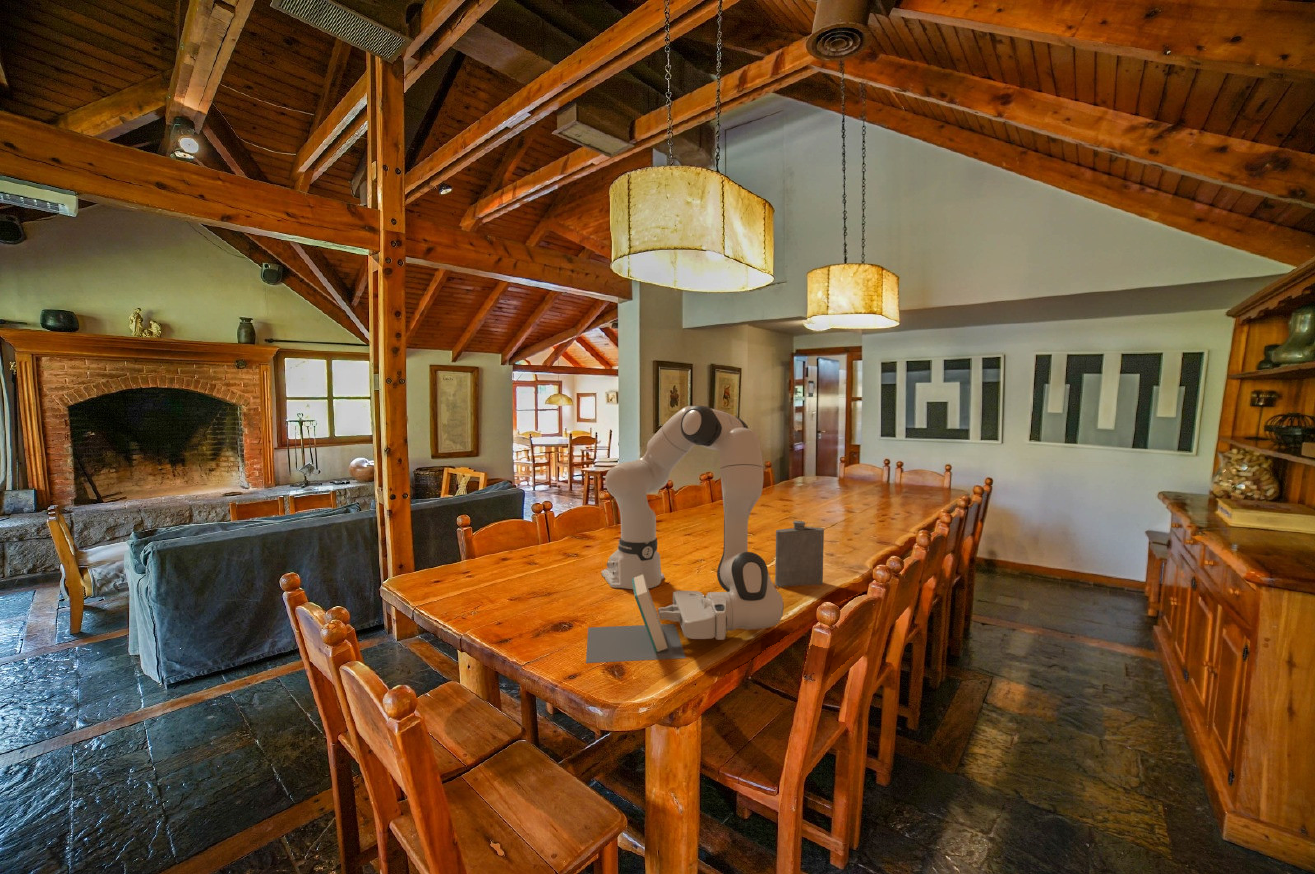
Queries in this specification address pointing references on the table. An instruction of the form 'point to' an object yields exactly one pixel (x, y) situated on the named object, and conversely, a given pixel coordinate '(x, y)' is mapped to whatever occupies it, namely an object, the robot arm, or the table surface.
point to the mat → (630, 644)
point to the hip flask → (799, 556)
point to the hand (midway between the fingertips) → (658, 613)
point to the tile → (649, 613)
